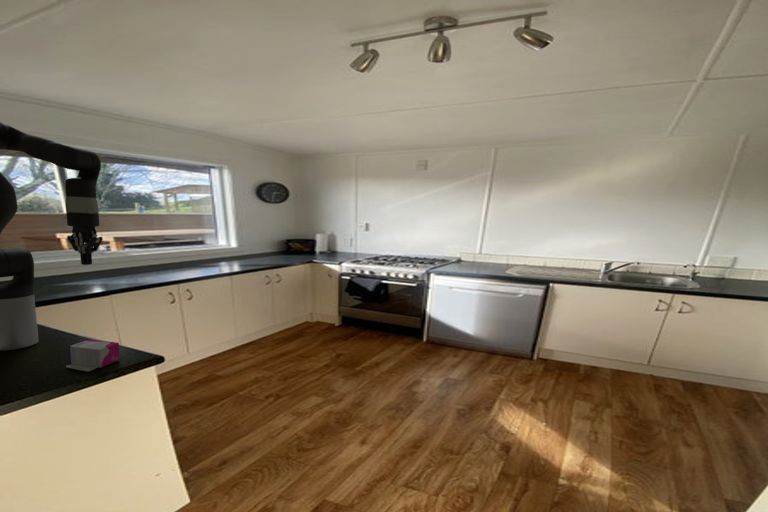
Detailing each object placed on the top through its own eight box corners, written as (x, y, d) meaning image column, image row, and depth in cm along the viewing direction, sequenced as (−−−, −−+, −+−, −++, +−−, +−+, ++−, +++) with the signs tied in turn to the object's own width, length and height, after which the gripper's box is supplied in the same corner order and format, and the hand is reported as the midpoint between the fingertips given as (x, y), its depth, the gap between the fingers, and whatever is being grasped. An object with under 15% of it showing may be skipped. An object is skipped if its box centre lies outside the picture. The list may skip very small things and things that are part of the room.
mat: (66, 367, 91) (65, 366, 90) (97, 356, 98) (97, 355, 98) (87, 371, 88) (87, 370, 88) (118, 359, 96) (118, 359, 96)
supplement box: (69, 364, 92) (100, 368, 90) (67, 345, 91) (98, 348, 89) (91, 356, 98) (120, 359, 95) (89, 338, 97) (119, 341, 95)
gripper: (53, 210, 97) (58, 264, 99) (83, 211, 94) (87, 267, 96) (82, 211, 104) (86, 262, 106) (110, 212, 101) (114, 264, 103)
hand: (86, 264), depth 101 cm, fingers closed
